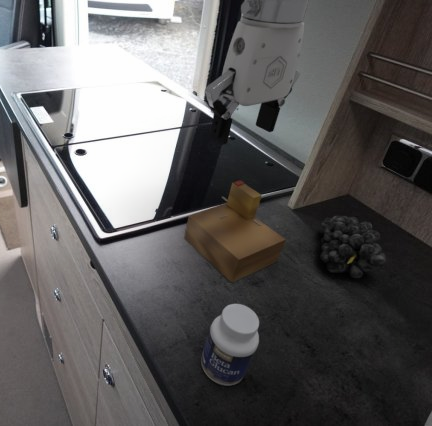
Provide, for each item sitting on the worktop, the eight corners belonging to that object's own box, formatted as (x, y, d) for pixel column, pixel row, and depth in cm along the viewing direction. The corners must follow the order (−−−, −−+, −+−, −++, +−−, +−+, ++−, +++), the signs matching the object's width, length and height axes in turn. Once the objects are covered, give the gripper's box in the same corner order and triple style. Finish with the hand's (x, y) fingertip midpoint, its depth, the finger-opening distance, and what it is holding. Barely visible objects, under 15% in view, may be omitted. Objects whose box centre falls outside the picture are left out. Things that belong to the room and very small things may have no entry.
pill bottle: (199, 381, 45) (214, 332, 39) (201, 343, 49) (215, 294, 43) (245, 392, 44) (268, 344, 38) (243, 352, 48) (264, 303, 42)
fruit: (337, 185, 65) (354, 236, 53) (381, 206, 64) (408, 263, 53) (304, 219, 70) (313, 273, 58) (344, 240, 70) (361, 298, 58)
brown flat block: (291, 255, 63) (301, 232, 60) (231, 282, 58) (239, 258, 55) (234, 212, 73) (240, 190, 70) (178, 232, 67) (182, 209, 64)
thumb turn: (254, 217, 63) (262, 193, 61) (247, 219, 63) (254, 196, 60) (234, 201, 67) (240, 179, 64) (226, 204, 66) (232, 181, 63)
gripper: (245, 19, 41) (215, 157, 52) (342, 11, 48) (299, 133, 59) (201, 9, 46) (182, 135, 57) (294, 2, 53) (262, 116, 64)
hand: (241, 134), depth 58 cm, fingers open, 9 cm apart
